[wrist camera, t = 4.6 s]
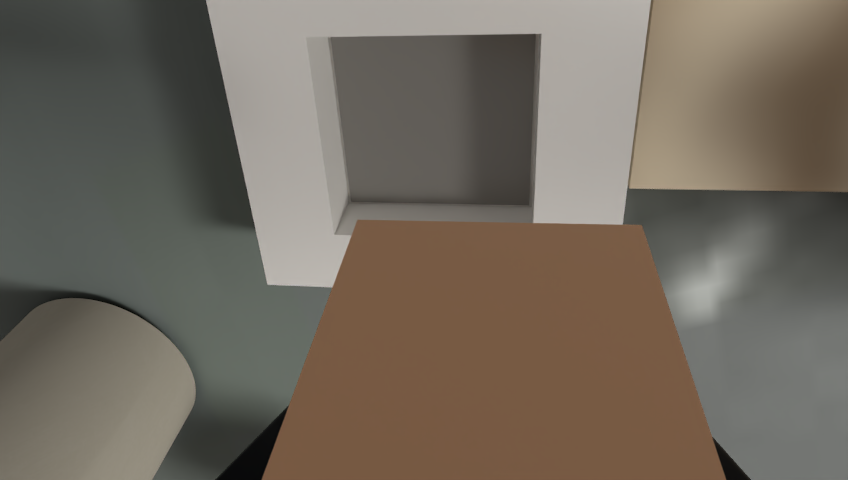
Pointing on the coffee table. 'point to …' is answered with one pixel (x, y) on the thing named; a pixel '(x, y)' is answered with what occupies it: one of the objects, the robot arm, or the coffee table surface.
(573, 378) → the plug
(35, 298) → the coffee table surface
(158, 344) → the travel mug
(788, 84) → the tray slab
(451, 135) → the socket block
